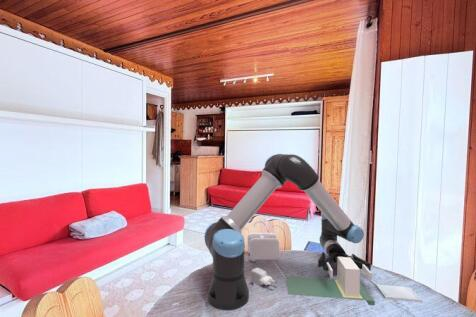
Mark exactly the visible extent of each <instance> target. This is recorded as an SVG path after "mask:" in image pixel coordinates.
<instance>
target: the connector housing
mask: <svg viewBox="0 0 476 317" xmlns="http://www.w3.org/2000/svg"><path fill="white" fill-rule="evenodd" d="M336 267H337V268H336V279H337V282H338V284H339V286H340V287H341V289H342V291H343V293H344V295H345V296H354V297H360V281H361V269H359V268H358V266H357V265H356V264H355V263H354V261H353V260H352V259H351V258H350V257H337V263H336Z"/></svg>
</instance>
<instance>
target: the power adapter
mask: <svg viewBox="0 0 476 317" xmlns="http://www.w3.org/2000/svg"><path fill="white" fill-rule="evenodd" d="M272 282H273V283H274V284H276V285H278V284H279V282H278V281H276V280H275V279H274V278H273V277H271V276H270V275H268V273H267V271H266V270H264V269H262V268H260V267H254V268H252V269H251V271H250V283H251V284H252V285H254V284H256V285H257V284H258V285H259V286H264V285H265V286H268V285H269V286H271V287H275V286H274V284H273V283H272Z"/></svg>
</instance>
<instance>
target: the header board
mask: <svg viewBox="0 0 476 317" xmlns="http://www.w3.org/2000/svg"><path fill="white" fill-rule="evenodd" d="M285 282H286V288H287V289H286V290H287V294H288V295H294V296H303V297H304V296H306V297H316V298H317V297H319V298H332V299H342V300H343V299H344V300H354V301H355V300H356V301H357V300H358V301H365V302H366V303H367V305H370V306H375V303H376V301H375V299H374V298H373V296H372V295H371V293H370V292H369V291H368V290H367V288H366V287H365V285H364V283H363V282H362V281H361V280H360V297H354V296H345V295H344V293H343V291H342V289H341V287H340V286H339V284H338V282H337V278H324V277H322V278H321V277H307V276H294V275H293V276H292V275H285Z"/></svg>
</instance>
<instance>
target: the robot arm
mask: <svg viewBox="0 0 476 317" xmlns="http://www.w3.org/2000/svg"><path fill="white" fill-rule="evenodd" d="M319 179H320V176H319V174H317V172H316V171H315V170H314V168H313V167H312V166H311V165H310V164H309V163H308V162H307V161H306V160H305V159H304V158H302V157H301V156H299V155H297V154H293V153H292V154H290V153H289V154H282V153H277V154H273V155H271V156H269V157H268V158H267V159H266V161H265V162H264V167H263V168H262V170H261V176H260V177H259V178H258V180H256V182H255V183H254V184H253V186H251V187H250V189H248V191H247V192H246V194H245V195H243V197H242V198H241V199H240V200H239V201H238V202H237V204H236V205H235V206H234V207H233V208H232V209H231V210H230V212H229V213H228V214H227V215H226V216H221V217H220V218H219V219H218V220H217V221H215V222H212V223H211V224H209V226H208V227H207V228H206V229H205V231H204V242H205V246H206V247H207V250H208V251H209V253H210V255H211V257H212V277H211V280H210V283H209V287H208V290H207V299H208V302H209V304H211V306H213V307H215V308H217V309H220V310H225V311H226V310H227V311H228V310H229V311H230V310H235V309H239V308H241V307H243V306H245V305H246V304H247V302H248V301H249V299H250V298H249V296H250V290H249V286H248V284H247V281H246V277H245V250H246V249H245V248H246V242H245V238H244V235H243V232H242V230H243V228H244V227H245V226H246V225H247V224H248V223H249V221H251V219H252V218H253V217H254V215H255V214H256V213H257V212H258V211H259V210H260V208H261V207H262V206H263V204H265V202H267V200H268V199H269V198H270V196H271V195H272V194H273V193H274V191H276V189H281V188H282V187H283V186H285V184H286V182H290V183H291V184H293V185H295V186H296V187H297V188H298V190H300V191H302V192H304V193H305V194H306V195H307V197H308V198H309V199H310V200H311V202H312V203H314V205H315V206H316V207H317V209H319V211H320V212H321V219H320V220H321V232H320V236H319V244H320V245H321V247H322V249H323V250H324V252H321V256H319V258H318V260H317V267H318V268H321V267H322V269H323V271H325V272H327V273H328V275H329V278H331V279H334V278H333V276H334V270H333V268H332V267H331V266H332V265H335V264H337V257H350V258H351V259H352V260H353V261H354V263H355V264H356V265H357V266H358V268H359V269H360V270H362V273H363V274H364V276H365V277H366V278H367V279H368V280H369V281H372V276H373V275H372V274H373V273H372V264H371V262H368V261H366V260H364V258H363V259H362V258H360V257H358V256H357V255H356V254H355V253H351V255H349V254H347V253H346V251H345V249H344V248H343V247H342V245H341V244H340V243H339V241H338V237H340V238H342V239H344V240H346V241H347V242H351V243H353V244H359V243H361V242H362V240H364V236H365V232H364V229H363V227H360V226H358V225H357V224H354V223H353V221H351V219H350V218H349V216H348V215H347V214H346V212H345V211H344V210H343V209H342V207H341V206H340V205H339V204H338V203H337V201H336V200H335V199H334V197H333V196H332V194H330V192H329V191H328V190H327V188H325V186H324V184H322V183H321V181H320V180H319Z"/></svg>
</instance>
